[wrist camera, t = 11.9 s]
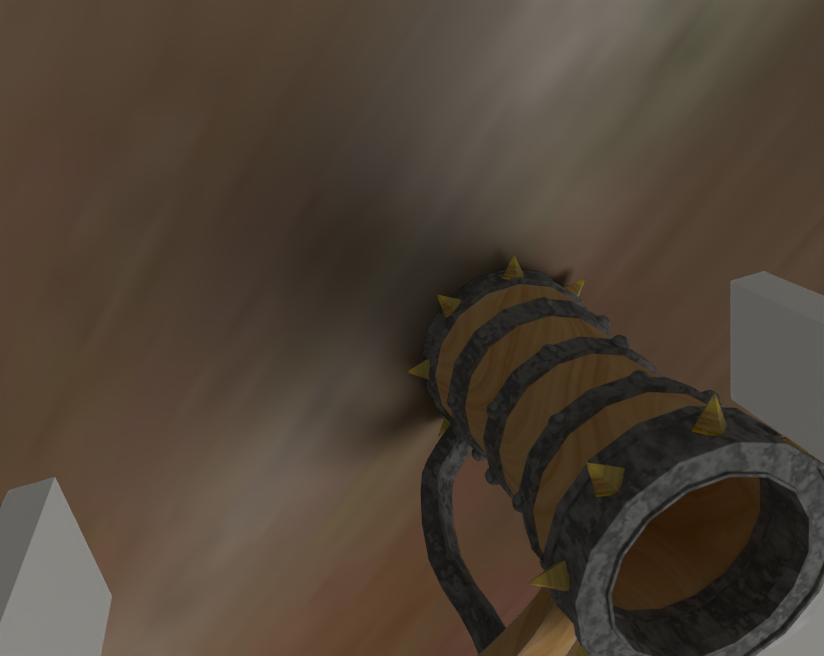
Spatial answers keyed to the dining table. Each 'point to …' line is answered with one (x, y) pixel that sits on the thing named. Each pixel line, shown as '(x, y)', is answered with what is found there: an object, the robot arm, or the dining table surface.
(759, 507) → the mug
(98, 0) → the dining table surface
